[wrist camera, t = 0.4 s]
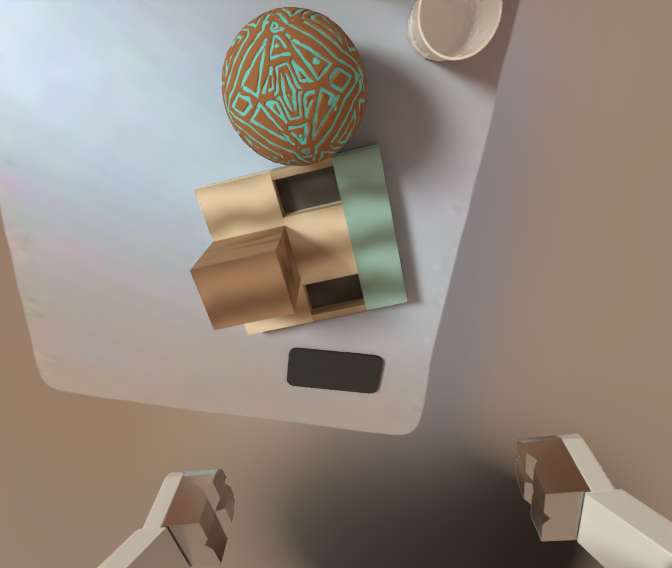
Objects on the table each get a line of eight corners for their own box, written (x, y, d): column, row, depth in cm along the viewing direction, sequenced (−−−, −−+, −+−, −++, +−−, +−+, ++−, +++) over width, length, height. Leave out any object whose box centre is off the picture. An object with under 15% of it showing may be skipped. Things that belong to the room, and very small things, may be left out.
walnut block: (213, 241, 56) (189, 270, 47) (284, 225, 55) (275, 251, 46) (232, 293, 59) (214, 330, 50) (300, 279, 58) (294, 313, 49)
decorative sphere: (372, 140, 53) (385, 157, 40) (260, 168, 55) (235, 193, 41) (347, 4, 47) (352, -32, 33) (221, 39, 48) (177, 18, 35)
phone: (289, 347, 66) (383, 357, 66) (290, 344, 66) (383, 354, 67) (286, 385, 69) (376, 394, 69) (287, 382, 69) (375, 391, 70)
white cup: (480, 42, 49) (514, 30, 40) (419, 79, 50) (438, 76, 41) (454, -30, 46) (484, -60, 37) (390, 12, 47) (403, -7, 38)
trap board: (199, 186, 55) (194, 190, 53) (377, 143, 53) (379, 146, 51) (251, 326, 64) (248, 334, 62) (404, 294, 62) (407, 302, 60)
